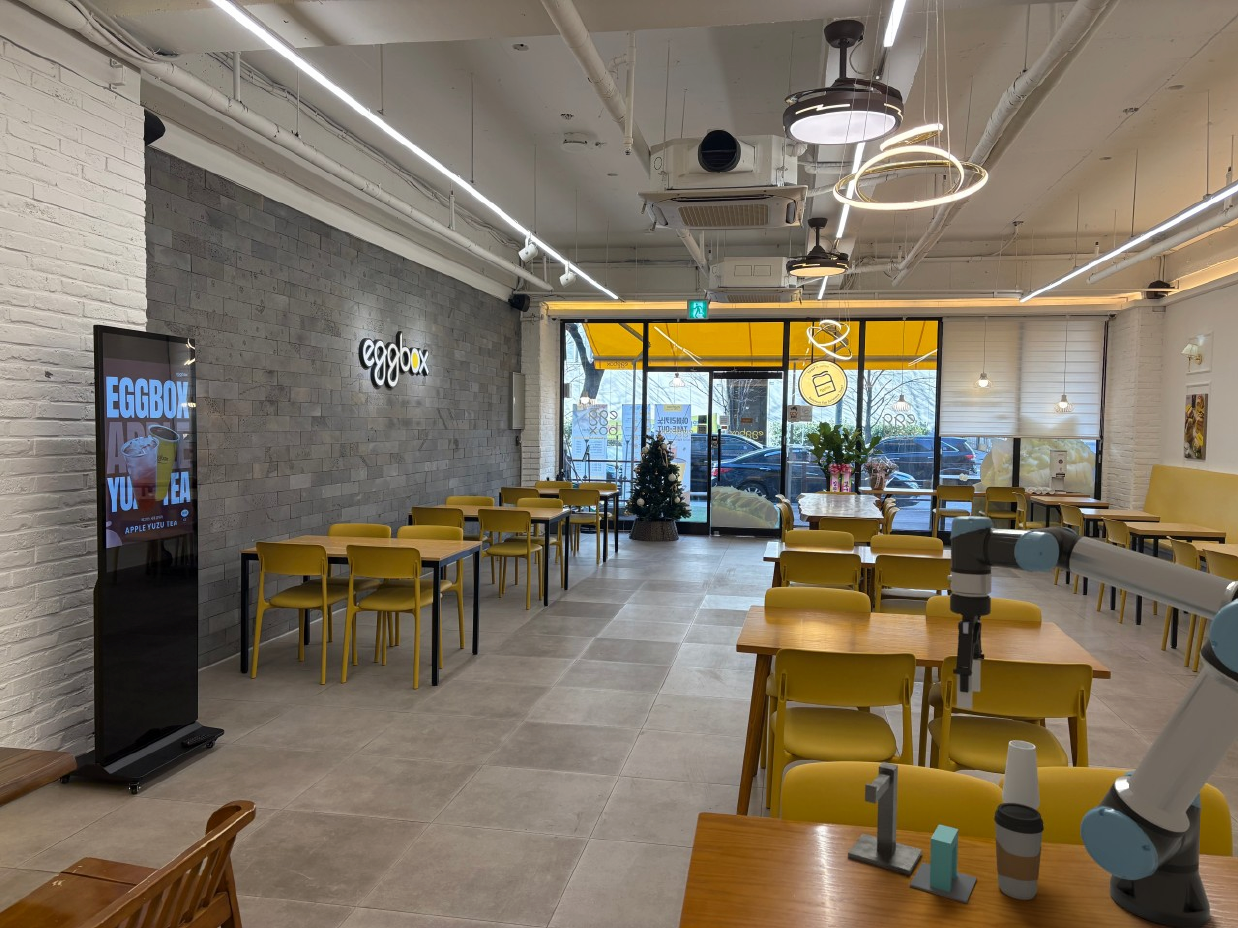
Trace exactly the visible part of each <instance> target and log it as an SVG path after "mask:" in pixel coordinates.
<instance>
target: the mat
mask: <svg viewBox="0 0 1238 928" xmlns="http://www.w3.org/2000/svg"><path fill="white" fill-rule="evenodd" d="M977 880H978V878H977V877H976V876H973V875H969V874H966V873H961V872H959V871H957V877H956V879H953V878H952V879H951V890H950V892H948V891H944V890H941V889H938V888H934V887H931V886H930V863H927V862H926V863H925V862H921V864H920V866H919V867H918V869H917V871H916V873H915V874H914V876H913V878H912V879H911V881H910V883H909V887H911V888H913V889H917V890H920V891H924V892H928V893H929V894H930V893H931V894H934V895H937V896H940V897H944V898H948V899H951V900H953V901H957V902H960V903H964V904H968V902H969V899H970V896H972V895H971V894H972V892H973V890H974V887H975V885H976V882H977Z"/></svg>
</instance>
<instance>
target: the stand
mask: <svg viewBox="0 0 1238 928" xmlns="http://www.w3.org/2000/svg"><path fill="white" fill-rule="evenodd" d="M898 772H899V765H898V764H895V763H889V762H885V761H882V762H881V763H880V764H879V766H878V775H877V776H875V777H876V778H875V779H873V780H872V782H871V783H869V782H866V783H865V786H864V788H865V789H864V801H865V802H867V803H871V804H875V805H876V804H877V822H876V823H877V826H876V827H877V831H876V832H877V833H876V835H877V837H876V836H874V835H871V834H866V833H862V834H861V835H860V836H859V838H857V840H856V842H855V843H854V844H853V845H852V847H851V848H850V849H849V851H847V859H852V860H855V861H859V862H861V863H864V864H865V863H866V864H868V865H872V866H875V867H879V868H882V869H886V870H889V871H892V872H896V873H899V874H902V875H905V876H911V873H912V872H913V870H914V869H915V867H916V865H917V863H918V862H919V860H920V858H921V857H922V854H923V849H920V848H917V847H914V846H910V845H906V844H903V843H899V842H897V824H898V823H897V817H898V816H897V813H898V781H899V780H898V777H899V776H898V774H899V773H898ZM920 856H921V857H920Z"/></svg>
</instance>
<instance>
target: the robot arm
mask: <svg viewBox="0 0 1238 928" xmlns="http://www.w3.org/2000/svg"><path fill="white" fill-rule="evenodd" d="M949 540H950V575H947V577H946V578H947V580H948V581H950V590H951V591H952V592H951V593H950V595H949V610H950V612H951V613H954V614H957V615H961V620H960V621H959V622H958V624H957V629H958V636H957V653H956V654H957V655H956V665H955V666H956V668H953V670H952V673H953V674H954V675H956V708H960V709H967V710H973V693H974V692H977V693H980V692H981V670H982V669H981V668H982V667H981V666H982V665H981V663H982V662H981V661H982V660H985V654H984V653H983V650H982V625H983V623H982V622H981V617H984V616H988V615H990V614H991V611H992V610H991V609H992V608H991V607H992V606H991V605H992V597H991V596H990V595H989V594H990V593H992V574H993V573H992V567H994V568H1004V569H1005V568H1006V569H1010V570H1011V569H1013V570H1019V571H1026V572H1030V573H1033V572H1035V573H1037V572H1039V573H1047V572H1051V571H1052V570H1053V569H1054V568H1057V569H1060V570H1063V571H1066V572H1069V573H1072V574H1075V575H1078V576H1082V577H1084V578H1087V579H1090V580H1093V581H1095V582H1099V583H1102V584H1104V585H1108V586H1111V587H1113V588H1116V589H1120V590H1123V591H1126V592H1128V593H1132V594H1134V595H1137V596H1140V597H1143V598H1147V599H1149V600H1152V601H1156V602H1158V603H1161V604H1163V605H1166V606H1167V605H1168V606H1170V607H1173V608H1176V609H1177V610H1178V609H1179V610H1182V611H1184V612H1188V613H1190V614H1193V615H1196V616H1199V617H1202V618H1205V619H1208V620H1211V622H1210V627H1209V633H1208V634H1209V636H1208V639H1207V640H1206V641H1205V643H1204V645H1203V646H1202V648H1201V649H1200V651H1199V653H1198V654H1199V656H1200V658H1201V661H1202V664H1203V667H1202V669H1201V671H1200V672H1199V674H1198V675H1197V677H1196V678H1195V680H1194V681H1193V682H1192V684H1191V685H1190V687H1189V689H1187V692H1186V693H1185V694H1184V696H1183V698H1182V699H1181V700H1180V702H1179V704H1178V705H1177V706H1176V708H1175V709H1174V711H1173V712H1172V713H1171V715H1170V717H1169V719H1168V720H1167V722H1166V723H1165V725H1164V726H1163V728H1161V731H1160V732H1159V733H1158V735H1157V737H1156V738H1155V740H1154V741H1153V743H1152V744H1151V746H1150V747H1149V749H1148V750H1147V752H1146V754H1145V755H1144V757H1142V759H1141V760H1140V762H1139V764H1138V765H1137V767H1136V768H1135V770H1129V771H1127V772H1126V773H1124V776H1123V775H1122V776H1119V777H1117V778H1116V779H1115V780H1114V781H1113V783H1112V784H1111V786H1110V788H1109V789H1108V791H1107V792H1106V793H1105V796H1104V797H1103V798H1102V799H1101V801H1100V802H1099V804H1098V805H1097V806H1095V807H1092V808H1090V809H1089V810H1087V812H1086V813H1085V815H1084V816H1083V818H1082V820H1081V823H1080V831H1079V832H1080V837H1081V841H1082V842H1083V845H1084V848H1085V851H1086V852H1087V853H1088V854H1089V856H1090V858H1091V859H1092V860H1093V861H1094V862H1095V864H1097V865H1098V866H1099V867H1100V868H1101V869H1103V870H1104V871H1106V872H1107V873H1109V874H1110V875H1111V876H1110V880H1109V894H1110V897H1111V898H1112V899H1113V901H1114V902H1116V904H1118V905H1119V906H1120V907H1121V908H1123V909H1125V910H1127V912H1130V913H1132V914H1134V915H1136V916H1138V917H1140V918H1143V919H1144V920H1147V921H1150V922H1153V923H1157V924H1160V925H1162V926H1163V925H1165V926H1169V927H1176V928H1201V927H1204V926H1206V925H1208V923H1209V921H1210V918H1211V915H1210V914H1211V906H1210V902H1209V898H1208V896H1207V892H1206V890H1205V886H1204V884H1203V880H1202V878H1201V875H1200V866H1199V865H1200V843H1201V842H1200V841H1201V838H1200V837H1201V815H1202V814H1201V810H1202V809H1203V807H1202V804H1201V793H1200V792H1201V791H1202V789H1203V788H1204V787H1205V785H1206V784H1207V782H1208V781H1209V779H1210V778H1211V776H1212V775H1213V774H1214V773H1215V771H1216V769H1217V768H1218V767H1219V765H1220V764H1221V763H1222V761H1223V760H1224V759H1225V757H1226V756H1227V754H1228V752H1230V749H1232V747H1233V745H1234V744H1235V743H1236V741H1237V740H1238V580H1232V579H1229V578H1226V577H1222V576H1218V575H1215V574H1213V573H1210V572H1209V573H1208V572H1204V571H1202V570H1198V569H1195V568H1191V567H1189V566H1185V565H1182V564H1179V563H1176V562H1172V561H1169V560H1166V559H1162V558H1158V557H1155V556H1152V555H1149V554H1145V553H1141V552H1138V551H1135V550H1131V549H1128V548H1124V547H1121V546H1117V545H1115V544H1111V543H1108V542H1104V541H1102V540H1098V539H1095V538H1092V537H1088V536H1084V535H1081V534H1078V532H1076V531H1075V530H1074V529H1071V528H1069V527H1064V526H1059V525H1058V526H1057V525H1056V526H1048V527H1043V528H1041V527H1040V528H1032V529H1006V528H996V527H993V521H992V519H991V518H990V517H987V516H986V517H985V516H976V515H975V516H973V515H969V516H966V515H962V516H961V515H959V516H956V517H954V518H953V519H952V521H951V531H950V537H949Z"/></svg>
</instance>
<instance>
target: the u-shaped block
mask: <svg viewBox="0 0 1238 928" xmlns="http://www.w3.org/2000/svg"><path fill="white" fill-rule="evenodd" d="M958 848H959V828H954V827H951V826H947V825H943V824H938V825H937V827H936V829H935V831H934V833H933V834H932V836H931V837H930V858H929V859H930V860H929V861H930V863H929V864H930V886H931V887H934V888H938V889H941V890H944V891H948V892H950V890H951V879H952V878H953V879H956V877H957V872H958V860H959V859H958V857H959V856H958V853H959V849H958Z"/></svg>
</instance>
